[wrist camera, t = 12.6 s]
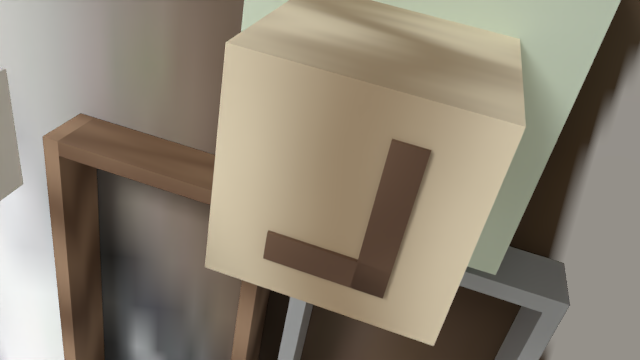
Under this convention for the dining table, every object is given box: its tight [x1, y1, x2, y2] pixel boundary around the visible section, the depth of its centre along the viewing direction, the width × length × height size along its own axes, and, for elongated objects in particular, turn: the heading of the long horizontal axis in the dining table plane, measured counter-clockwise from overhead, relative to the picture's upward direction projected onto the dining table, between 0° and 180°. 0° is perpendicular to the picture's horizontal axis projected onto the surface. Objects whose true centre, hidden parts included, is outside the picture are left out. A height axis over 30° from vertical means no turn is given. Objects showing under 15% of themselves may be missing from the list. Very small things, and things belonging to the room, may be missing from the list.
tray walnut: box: [43, 114, 270, 360], centre depth 29 cm, size 20×10×2 cm, turn 169°
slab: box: [241, 0, 621, 275], centre depth 19 cm, size 10×10×4 cm
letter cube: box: [205, 0, 526, 346], centre depth 15 cm, size 6×6×6 cm
